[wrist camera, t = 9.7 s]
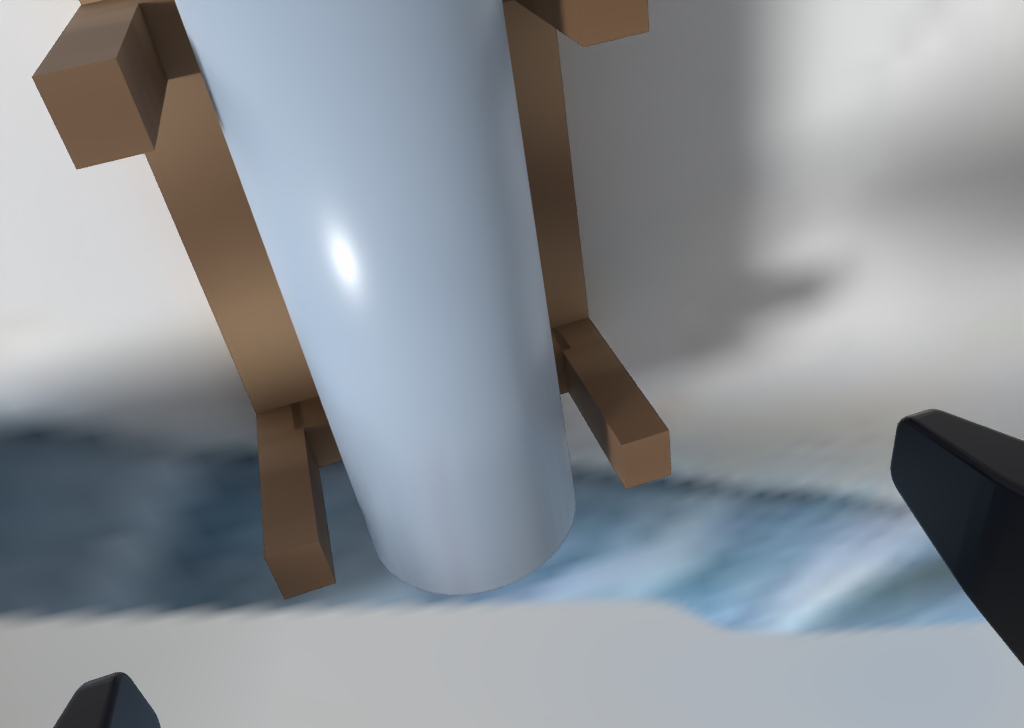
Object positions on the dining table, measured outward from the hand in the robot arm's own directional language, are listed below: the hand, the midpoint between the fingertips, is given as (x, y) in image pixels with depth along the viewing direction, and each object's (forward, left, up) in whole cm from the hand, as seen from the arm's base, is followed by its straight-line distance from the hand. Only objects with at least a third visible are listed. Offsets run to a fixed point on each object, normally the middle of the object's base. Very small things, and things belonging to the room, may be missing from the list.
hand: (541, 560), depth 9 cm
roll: (0, 0, -9) cm, 9 cm away
